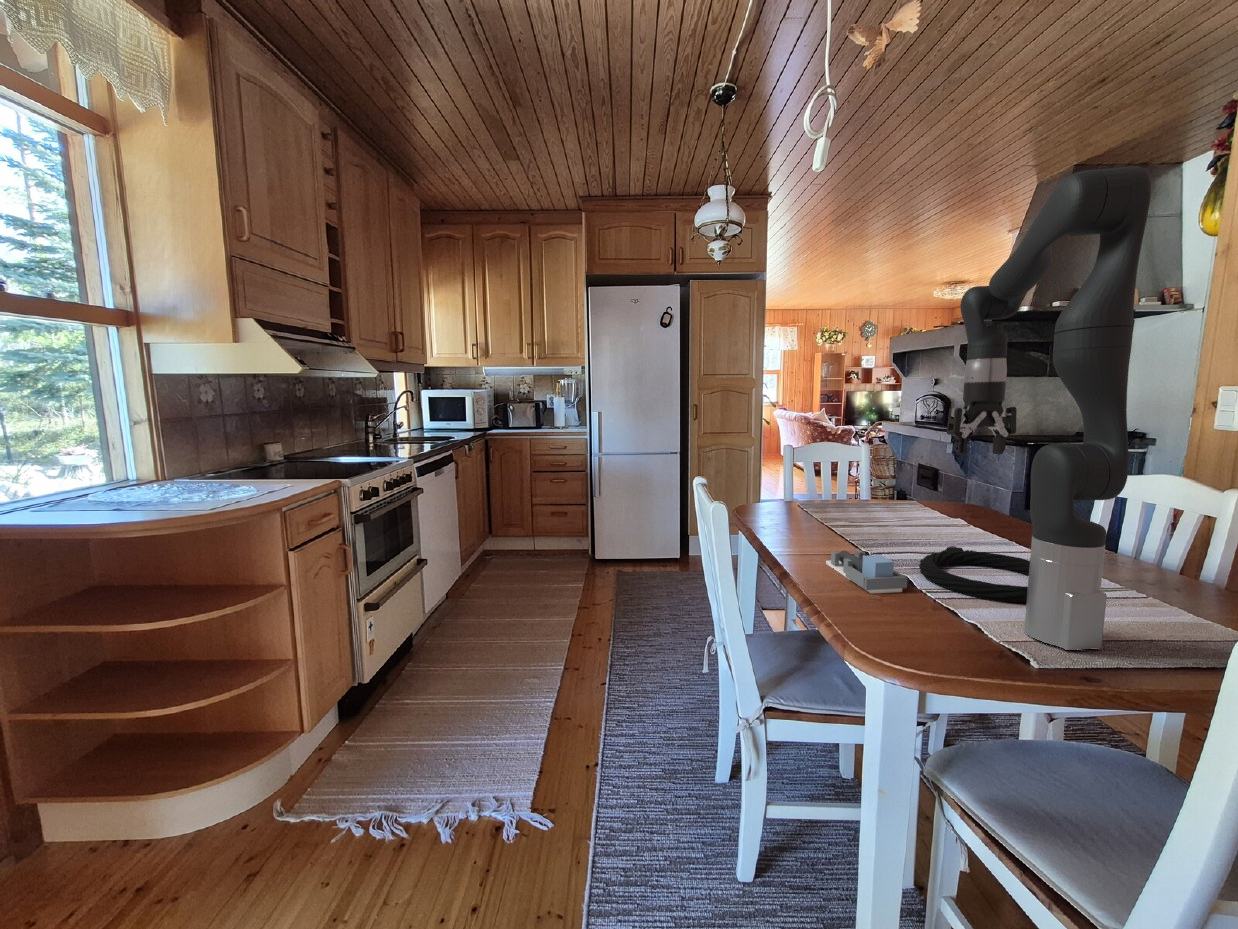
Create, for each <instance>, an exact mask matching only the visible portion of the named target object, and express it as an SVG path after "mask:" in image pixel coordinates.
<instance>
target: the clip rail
mask: <svg viewBox="0 0 1238 929" xmlns="http://www.w3.org/2000/svg"><path fill="white" fill-rule="evenodd" d="M839 553H840V552H838V551H837V550H831V552H830V560H826V561H825V564H826V565H827V566H829V568H832V569H833V568H834V570H835V571H837V573H840V574H841V575H842V576H844V577H845V578H847V579H848V580H849V581H851V582H853V583H854V584H856V585H857V586H859V587H860V588H862V589H863V590H864V591H866V592H868V593H869V594H871V595H872V594H888V593H902V592H903V589H908V588H907V587H908V577H907V576H906V575H904V574H902V573H900V572H898V571H897V570H895V569H893V576H887V577H867V576H865V575H864V574H862V573H861V572H859V571H857V570H856V569H854V568H853V567H852V561H851V560H850V559H848V558H847V559H844V564H843V563H842V562H840V561H839ZM854 556H856V557H858V558H859V559H861V560H863V556H864V551H862V550H860V549H854Z"/></svg>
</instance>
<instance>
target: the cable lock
mask: <svg viewBox="0 0 1238 929" xmlns="http://www.w3.org/2000/svg"><path fill="white" fill-rule="evenodd" d="M973 565H974V567H985V566H986V567H987V568H991V567H992V569H997V568H999V569H998V570H1005V569H1006V570H1005V571H1009V570H1011V571H1010V572H1012V573H1016V572H1018V573H1017V574H1020V573H1021V575H1024V576H1028V575H1029V566H1030V560H1028V559H1024V558H1022V557H1017V556H1010V555H1006V554H1001V553H999V554H998V553H993V552H985V551H976V550H969V549H966V550H964V549H963V548H962V547H957V546H955V545H950V546H947V547H946V548H945V549H943V550H941V552H940V551H939V552H932V553H931V554H927V555H925V557H923V559H920V561H919V564H918V566H919V572H920V574H921V575H923V577H924V578H925V579H926V580H927V579H928V581H929V582H931V583H933V582H934V583H935V584H934V583H933V584H934V585H936V586H938V585H939V586H938V587H940V586H941V588H944V589H948V590H950V591H952V592H954V591H955V592H954V593H957V592H958V593H957V594H960V593H961V595H965V596H969V597H975V598H979V599H982V600H987V599H988V601H992V600H994V602H1003V601H1004V602H1005V603H1010V602H1016V603H1015V604H1020V603H1023V605H1026V602H1027V590H1028V585H1027V586H1022V585H1014V584H1013V585H1011V584H999V583H998V584H997V583H992V582H987V581H983V580H981V581H980V580H975V579H970V578H968V577H963V576H959V575H956V574H953V573H950V572H947V571H945V570H943V569H942V568H943V567H947V566H973Z"/></svg>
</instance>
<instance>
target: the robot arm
mask: <svg viewBox="0 0 1238 929" xmlns="http://www.w3.org/2000/svg"><path fill="white" fill-rule="evenodd" d="M1151 193H1152V182H1151V177H1150V174H1149V172H1148V171H1147V170H1146V169H1145V168H1144V167H1141V166H1135V165H1133V166H1120V167H1108V168H1098V169H1087V170H1081V171H1077V172H1073V173H1071V174H1069V175H1068V176H1066V177H1065V178H1063V180H1061V181H1060V182H1059V183H1058V185H1057V186H1055V188H1054V189H1053V191H1052V192H1051V194H1050V195H1049V197H1048V198H1047V199H1046V201H1045V202H1044V204H1043V206H1042V207H1041V208H1040V211H1039V212H1038V213H1037V215H1036V216H1035V218H1034V219H1033V221H1032V223H1031V225H1030V226H1029V228H1028V230H1027V231H1026V233H1025V235H1024V236H1023V238H1022V240H1021V241H1020V243H1019V244H1018V246H1017V248H1016V249H1015V250H1014V252H1012V254H1011V255H1010V256H1009V257H1008V258H1007V259H1006V260H1005V261H1004V262H1003V264H1001V266H1000V267H999V268H998V269H997V270H996V271H995V272H994V273H993V275H992V276H991V278H990V279H989V282H988V285H980V286H979V285H978V286H973V287H971V288H968V289H967V290H966V291H965V292H964V294H963V296H962V297H961V300H960V314H961V318H962V321H963V325H964V328H965V333H966V338H967V351H966V361H965V362H966V364H965V367H964V376H963V390H962V391H963V392H962V393H963V394H962V402H963V403H964V405H963V408H961V407H950V408H949V410H948V418H947V427H946V434H947V435H949V436H953V437H954V439H955V440H954V441H955V443H954V451H955V454H956V455H958V456H966V455H967V454H968V452H967V450H968V438H967V437H968V436H969V435H970V434H971V432H972V431H974V430H975V429H976V428H988V429H989V430H991V432H992V433H993V435H994V436H993V440H992V454H994V455H1003V453H1004V452H1005V450H1006V441H1007V437H1008V436H1010V435H1014V434H1016V432H1017V412H1018V411H1017V410H1018V409H1017V407H1015V406H1003V402H1004V401H1005V400H1006V386H1007V373H1008V367H1007V354H1008V352H1007V351H1008V341H1009V340H1008V333H1006V332H1005V331H1004V330H997V329H992V328H990V327H988V326H987V324H986V323H985V322H986V321H990V320H992V321H993V320H1004V319H1008V318H1010V317H1013V316H1014V315H1015V314H1016V313H1018V311H1019V310H1020V308H1021V306H1022V303H1023V301H1024V299H1025V297H1026V296H1027V294H1028V292H1029V291H1031V289H1033V288H1034V287H1035V286H1036V285H1037V284H1038V283H1040V282H1041V280H1042V279H1044V278H1045V277H1046V275H1047V274H1048V272H1049V270H1050V268H1051V266H1052V263H1053V250H1052V245H1053V244H1054V243H1055V242H1056V241H1058V240H1060V239H1061V238H1063V237H1065V236H1069V237H1070V236H1071V237H1076V236H1090V235H1091V236H1092V235H1099V246H1098V251H1097V255H1096V259H1095V263H1094V266H1093V267H1092V270H1091V272H1090V273H1089V274H1088V277H1087V278H1086V280H1085V281H1084V282H1083V283H1082V285H1081V286H1080V288H1079V289H1078V290H1077V291H1076V292H1075V294H1073V296H1072V297H1071V299H1070V300H1069V301H1068V302H1067V304H1066V305H1065V307H1064V308H1063V310H1062V311H1061V312H1060V314H1059V316H1058V317H1057V320H1056V321H1055V326H1054V335H1053V349H1052V350H1053V351H1052V352H1053V353H1052V363H1053V364H1052V365H1053V367H1054V370H1055V372H1056V374H1057V376H1058V377H1059V379H1060V380H1061V382H1062V383H1063V385H1064V387H1065V388H1066V389H1067V391H1068V392H1069V393H1070V395H1071V397H1072V398H1073V400H1074V401H1075V402H1076V404H1077V406H1078V408H1079V411H1080V413H1081V418H1082V424H1083V441H1082V443H1053V444H1046V445H1044V446H1042V447H1040V448H1039V449H1038V450H1037V451H1036V453H1035V455H1034V457H1033V460H1032V464H1031V470H1030V503H1029V508H1030V509H1029V516H1030V521H1031V526H1032V527H1031V528H1032V533H1031V543H1030V544H1031V545H1030V555H1029V561H1030V566H1029V576H1028V578H1027V580H1028V581H1027V586H1028V590H1027V602H1026V604H1025V617H1024V618H1025V619H1024V627H1023V631H1024V630H1025V631H1024V633H1025V634H1026V633H1027V634H1028V635H1029V636H1030V637H1029V636H1028V635H1027V634H1026V635H1027V636H1028V637H1029V638H1031V637H1033V638H1035V639H1037V640H1040V641H1042V642H1045V643H1050V644H1053V645H1056V646H1059V647H1062V648H1064V649H1065V650H1077V649H1091V648H1101V649H1102V645H1103V637H1104V636H1103V635H1104V626H1105V615H1106V609H1107V608H1106V607H1107V599H1108V596H1107V592H1104V591H1102V590H1101V588H1102V582H1103V570H1104V561H1105V552H1106V541H1107V529H1106V528H1105V527H1104V526H1103V525H1101V524H1099V523H1097V522H1095V521H1091V520H1087V519H1084V518H1082V517H1080V516H1079V515H1077V514H1076V512H1075V502H1074V501H1107V500H1112V499H1115V498H1116V497H1118V496H1119V495H1120V494H1121V493H1122V492H1123V490H1124V488H1125V486H1126V484H1127V481H1128V476H1129V468H1130V467H1129V466H1130V465H1129V464H1130V463H1129V462H1130V461H1129V460H1130V458H1129V455H1130V454H1129V437H1128V436H1129V435H1128V434H1129V433H1128V418H1127V416H1128V414H1127V407H1128V406H1127V404H1128V384H1129V383H1128V382H1129V369H1130V362H1131V360H1130V359H1131V353H1132V344H1133V330H1134V310H1135V309H1134V307H1135V297H1136V296H1135V295H1136V287H1137V286H1136V285H1137V276H1138V267H1139V261H1140V256H1141V252H1142V251H1141V250H1142V245H1143V241H1144V240H1143V239H1144V235H1145V229H1146V226H1147V220H1148V215H1149V210H1150V205H1151V204H1150V203H1151V196H1152V194H1151ZM1001 416H1002V419H1001ZM962 418H963V420H962ZM1033 638H1032V639H1033ZM1035 639H1034V640H1035ZM1037 640H1036V641H1037ZM1042 642H1041V643H1042ZM1065 650H1064V651H1065Z"/></svg>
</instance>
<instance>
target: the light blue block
mask: <svg viewBox="0 0 1238 929" xmlns="http://www.w3.org/2000/svg"><path fill="white" fill-rule="evenodd" d="M838 553H839V561H840V562H842V563H843V564H844V559H847V558H848V559H850V560H851V561H852V567H853V568H854V569H856V570H857V571H859V572H861V573H862V574H864V575H865V576H867V577H887V576H893V570H894V565H895V564H894V561H893V560H891V559H889V558H886V557H885V556H884V555H881V554H876V555H875V554H874V555H870V554H869V555H863V560H861V559H859V558H858V557H856V556H855V554H853V553H851V552H849V551H847V550H841V551H840V552H838Z"/></svg>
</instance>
